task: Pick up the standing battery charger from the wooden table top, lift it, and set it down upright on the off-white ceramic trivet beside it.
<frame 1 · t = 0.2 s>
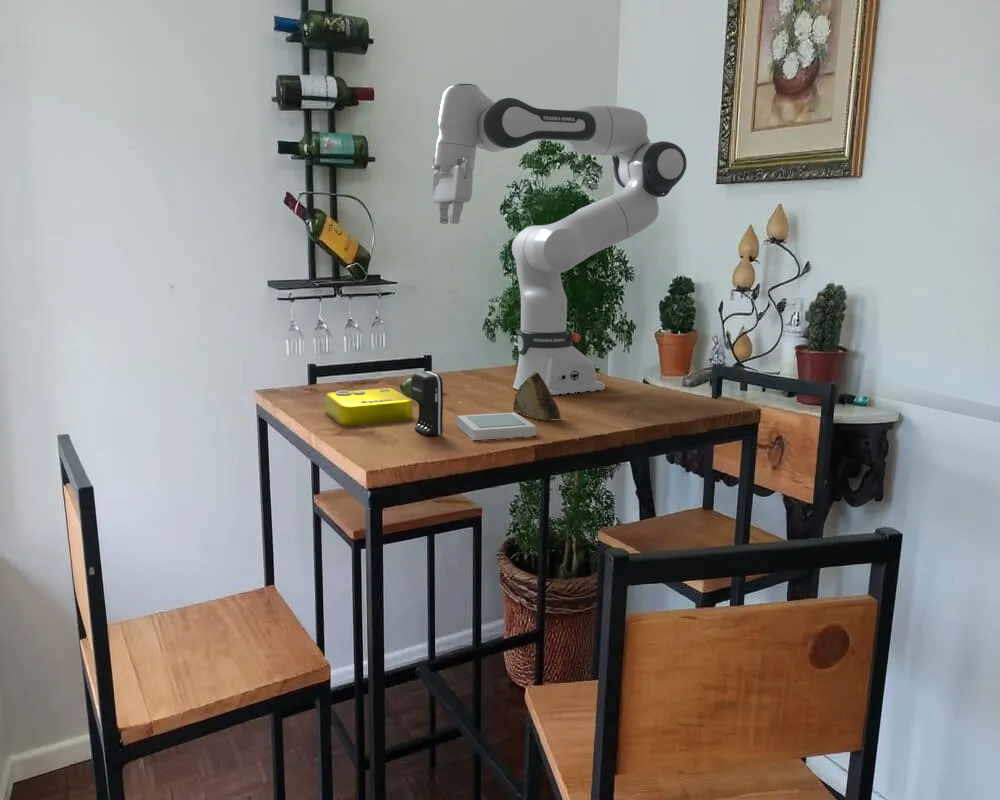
hand: (448, 223, 176), 39 cm above the table, tool pointing down, fingers open, 8 cm apart
battery charger: (426, 434, 146), on the table
element tile: (369, 417, 161), on the table
pear: (420, 395, 183), on the table
rock: (536, 417, 161), on the table
trivet: (495, 431, 148), on the table
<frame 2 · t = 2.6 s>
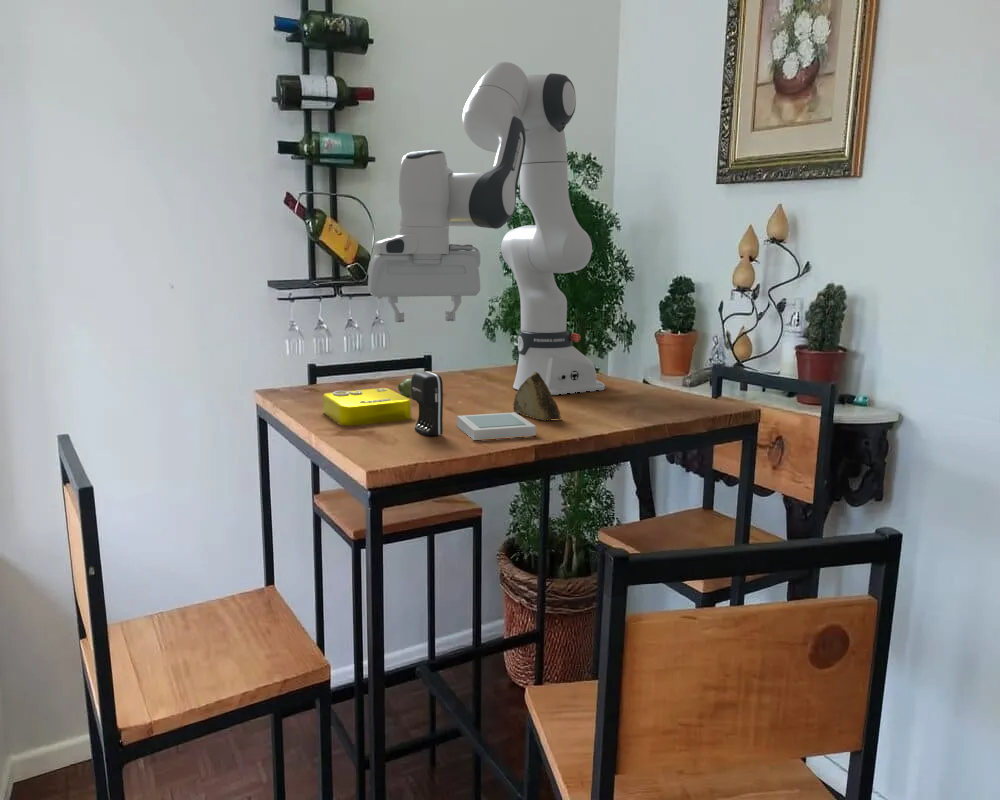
hand: (425, 321, 142), 21 cm above the table, tool pointing down, fingers open, 8 cm apart
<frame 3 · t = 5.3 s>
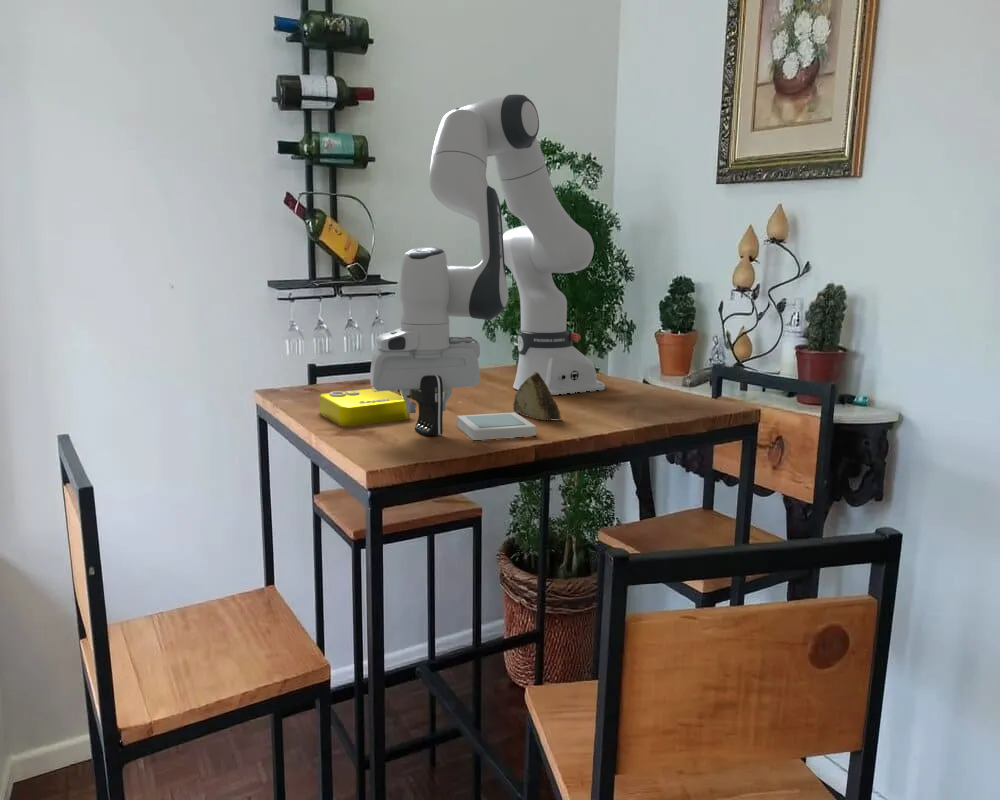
hand: (426, 411, 146), 4 cm above the table, tool pointing down, fingers closed on battery charger, 4 cm apart
battery charger: (426, 434, 146), on the table, touching gripper
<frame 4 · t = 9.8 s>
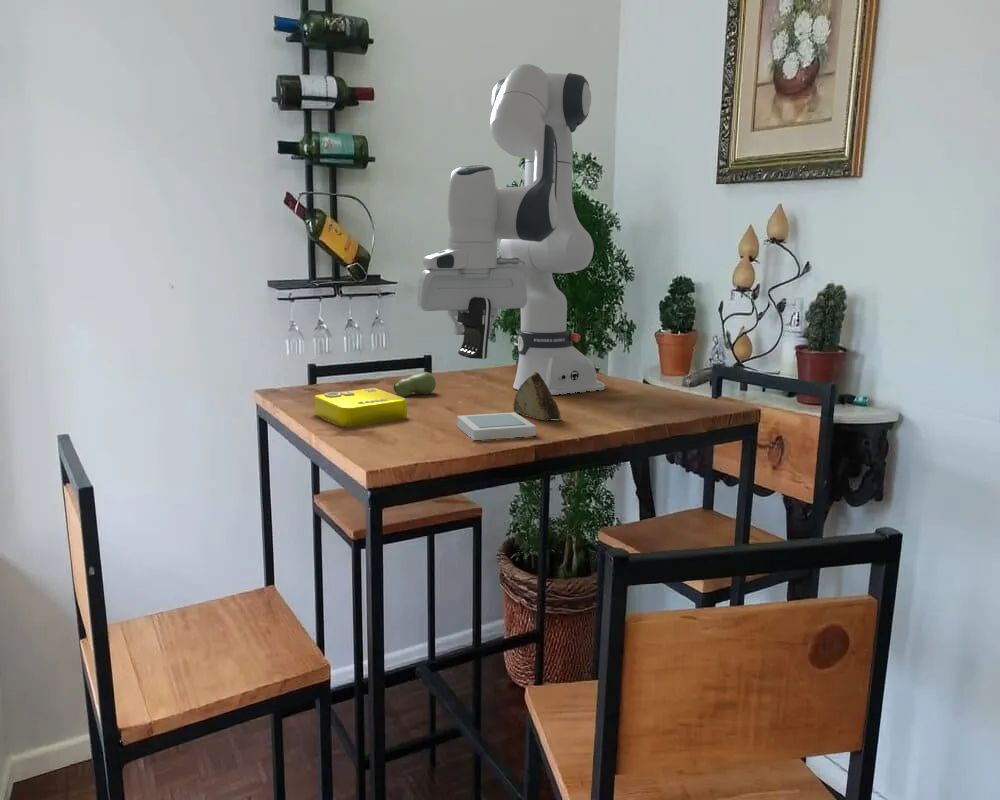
hand: (473, 334, 144), 19 cm above the table, tool pointing down, fingers closed on battery charger, 4 cm apart
battery charger: (469, 358, 145), point 14 cm above the table, touching gripper
when the fingers open (7 cm above the table, at t = 14.0 s): battery charger moves 2 cm, resting on trivet.
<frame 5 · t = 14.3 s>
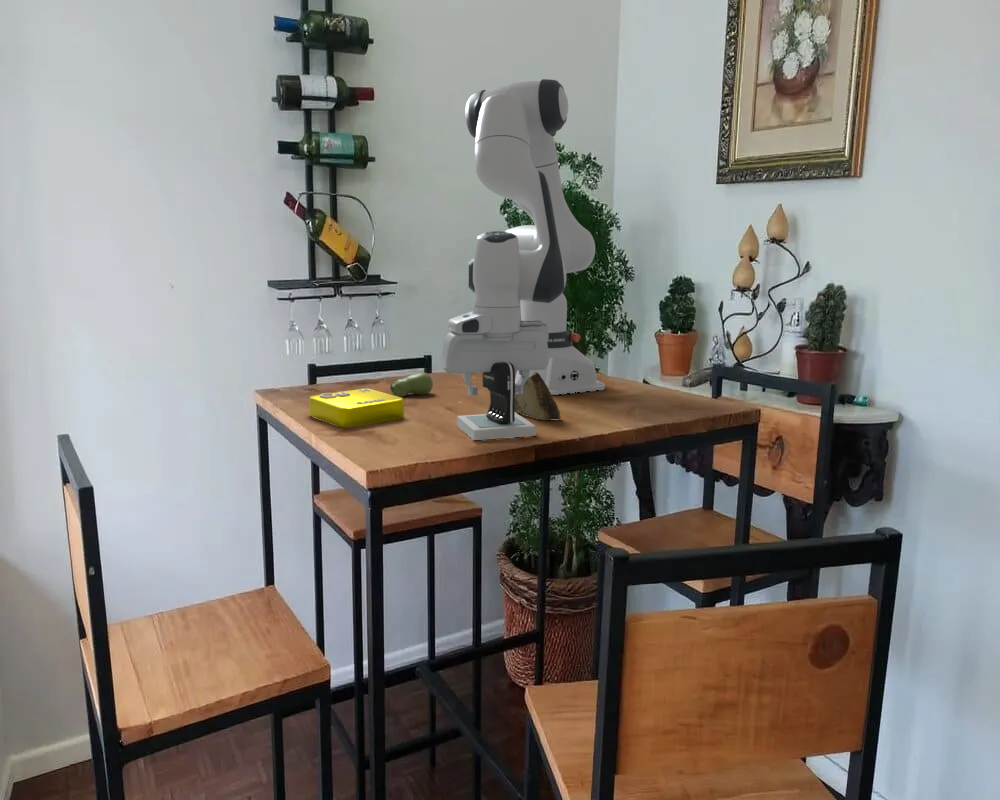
hand: (495, 394, 147), 7 cm above the table, tool pointing down, fingers open, 8 cm apart
battery charger: (498, 421, 147), point 2 cm above the table, touching trivet
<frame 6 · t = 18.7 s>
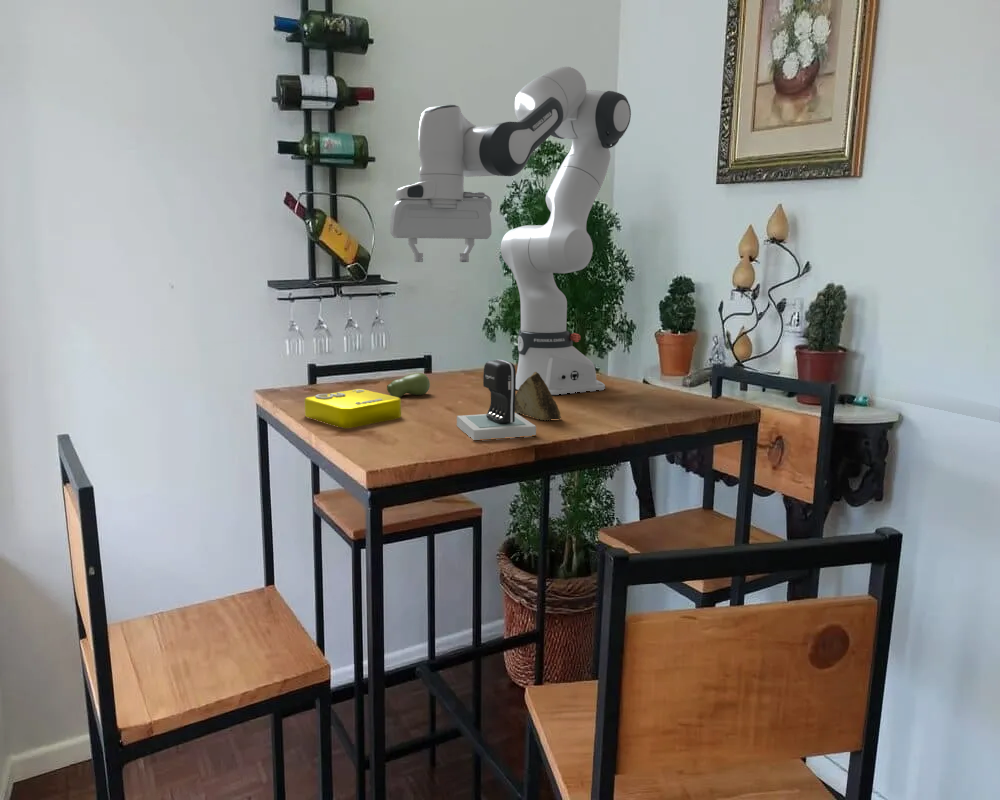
hand: (441, 262, 157), 31 cm above the table, tool pointing down, fingers open, 8 cm apart
at the end: battery charger inside the target area on the trivet (0.8 cm from its centre), point 1.9 cm above the trivet's base; battery charger tilted 0°; the gripper is holding nothing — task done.
